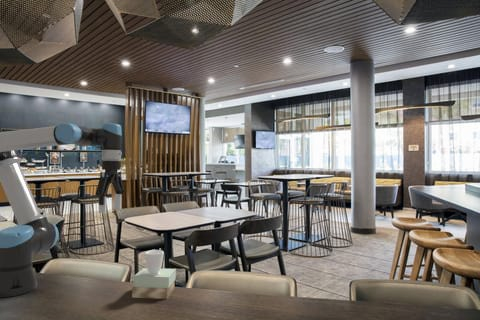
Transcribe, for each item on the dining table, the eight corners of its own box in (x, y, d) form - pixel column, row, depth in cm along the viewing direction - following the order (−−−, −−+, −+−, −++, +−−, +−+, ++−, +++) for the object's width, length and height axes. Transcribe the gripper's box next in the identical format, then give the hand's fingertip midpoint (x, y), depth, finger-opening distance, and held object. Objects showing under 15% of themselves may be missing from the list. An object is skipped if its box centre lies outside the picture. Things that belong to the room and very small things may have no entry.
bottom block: (131, 299, 118) (132, 287, 118) (141, 288, 128) (141, 278, 128) (167, 300, 117) (167, 289, 118) (174, 290, 127) (174, 279, 128)
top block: (133, 287, 119) (133, 276, 119) (143, 278, 129) (143, 267, 129) (168, 288, 118) (168, 277, 118) (175, 279, 128) (175, 268, 128)
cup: (142, 276, 118) (142, 254, 119) (148, 268, 128) (149, 248, 129) (161, 276, 119) (162, 254, 119) (166, 268, 129) (167, 248, 129)
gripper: (105, 159, 125) (104, 215, 124) (132, 161, 150) (131, 207, 149) (86, 159, 125) (85, 214, 125) (116, 161, 150) (115, 207, 150)
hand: (110, 211), depth 137 cm, fingers open, 13 cm apart
